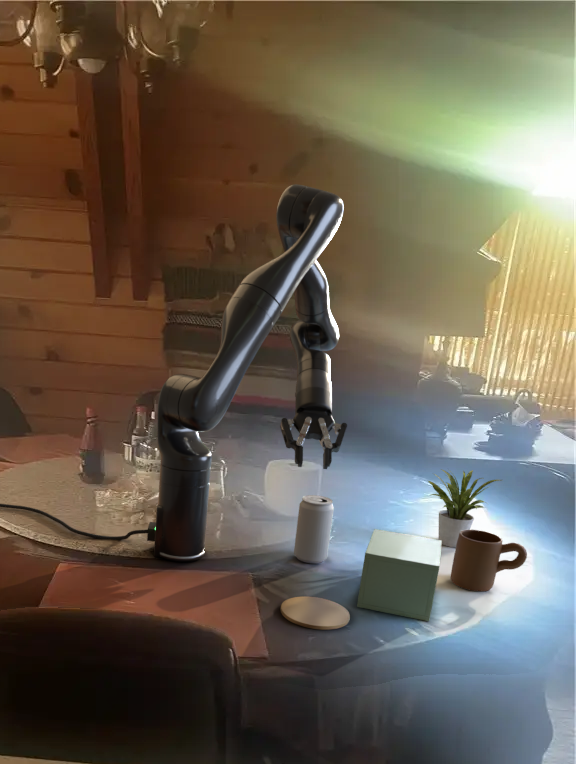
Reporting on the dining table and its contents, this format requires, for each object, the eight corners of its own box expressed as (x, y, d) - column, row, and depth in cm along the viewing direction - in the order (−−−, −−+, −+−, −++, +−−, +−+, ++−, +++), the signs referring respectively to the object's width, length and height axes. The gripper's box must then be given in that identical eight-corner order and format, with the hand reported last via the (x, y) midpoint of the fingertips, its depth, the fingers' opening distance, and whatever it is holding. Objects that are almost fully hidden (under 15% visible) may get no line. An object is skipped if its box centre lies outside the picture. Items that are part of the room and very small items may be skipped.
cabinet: (366, 578, 138) (374, 528, 135) (432, 591, 134) (441, 540, 131) (356, 606, 125) (365, 552, 122) (429, 621, 122) (439, 566, 119)
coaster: (283, 626, 116) (283, 623, 116) (278, 597, 127) (278, 593, 126) (354, 632, 116) (355, 629, 116) (343, 602, 126) (344, 599, 126)
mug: (517, 585, 140) (527, 537, 137) (520, 600, 133) (531, 550, 130) (449, 573, 143) (458, 526, 140) (449, 587, 136) (458, 538, 133)
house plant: (475, 533, 168) (490, 462, 163) (502, 556, 155) (518, 479, 150) (412, 529, 167) (425, 458, 162) (433, 552, 154) (448, 474, 149)
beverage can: (326, 566, 142) (334, 505, 138) (291, 562, 143) (299, 501, 139) (327, 555, 148) (335, 496, 144) (294, 550, 149) (301, 492, 145)
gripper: (282, 382, 155) (279, 453, 148) (351, 388, 155) (353, 459, 147) (277, 404, 162) (275, 472, 154) (343, 409, 162) (345, 478, 154)
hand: (313, 465), depth 151 cm, fingers open, 4 cm apart
